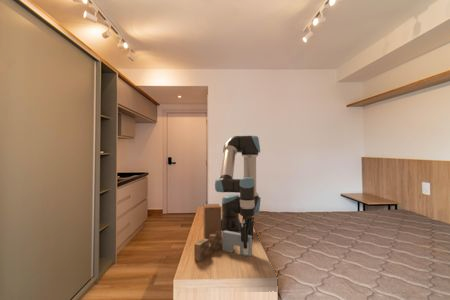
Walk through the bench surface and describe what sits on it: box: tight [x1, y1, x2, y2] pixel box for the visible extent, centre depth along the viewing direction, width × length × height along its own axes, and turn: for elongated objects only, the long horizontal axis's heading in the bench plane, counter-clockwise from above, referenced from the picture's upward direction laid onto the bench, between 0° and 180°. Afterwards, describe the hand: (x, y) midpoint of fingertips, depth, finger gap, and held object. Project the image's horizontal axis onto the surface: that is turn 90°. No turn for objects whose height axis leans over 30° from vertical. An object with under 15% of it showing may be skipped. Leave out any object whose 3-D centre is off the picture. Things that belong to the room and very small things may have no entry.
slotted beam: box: [193, 230, 223, 262], centre depth 122 cm, size 22×3×8 cm, turn 151°
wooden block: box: [203, 203, 222, 239], centre depth 144 cm, size 10×10×20 cm
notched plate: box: [221, 230, 253, 258], centre depth 122 cm, size 3×16×10 cm, turn 61°
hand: (247, 252), depth 119 cm, fingers closed on notched plate, 3 cm apart
